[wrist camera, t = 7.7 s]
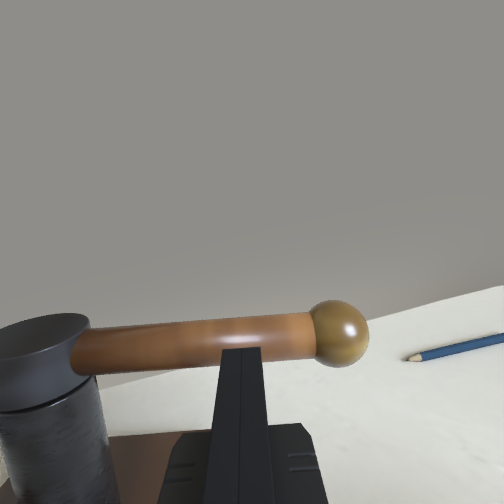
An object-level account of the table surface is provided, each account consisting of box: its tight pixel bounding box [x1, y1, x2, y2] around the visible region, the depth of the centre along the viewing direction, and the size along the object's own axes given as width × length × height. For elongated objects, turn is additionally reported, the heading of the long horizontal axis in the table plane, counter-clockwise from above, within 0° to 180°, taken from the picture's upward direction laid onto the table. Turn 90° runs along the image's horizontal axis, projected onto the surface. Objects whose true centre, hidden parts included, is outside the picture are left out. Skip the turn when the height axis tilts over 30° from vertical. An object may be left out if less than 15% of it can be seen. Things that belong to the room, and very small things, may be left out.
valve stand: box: [0, 375, 211, 504], centre depth 17 cm, size 14×14×11 cm
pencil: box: [406, 333, 504, 362], centre depth 35 cm, size 1×1×15 cm
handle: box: [0, 300, 369, 411], centre depth 15 cm, size 18×5×3 cm, turn 91°
